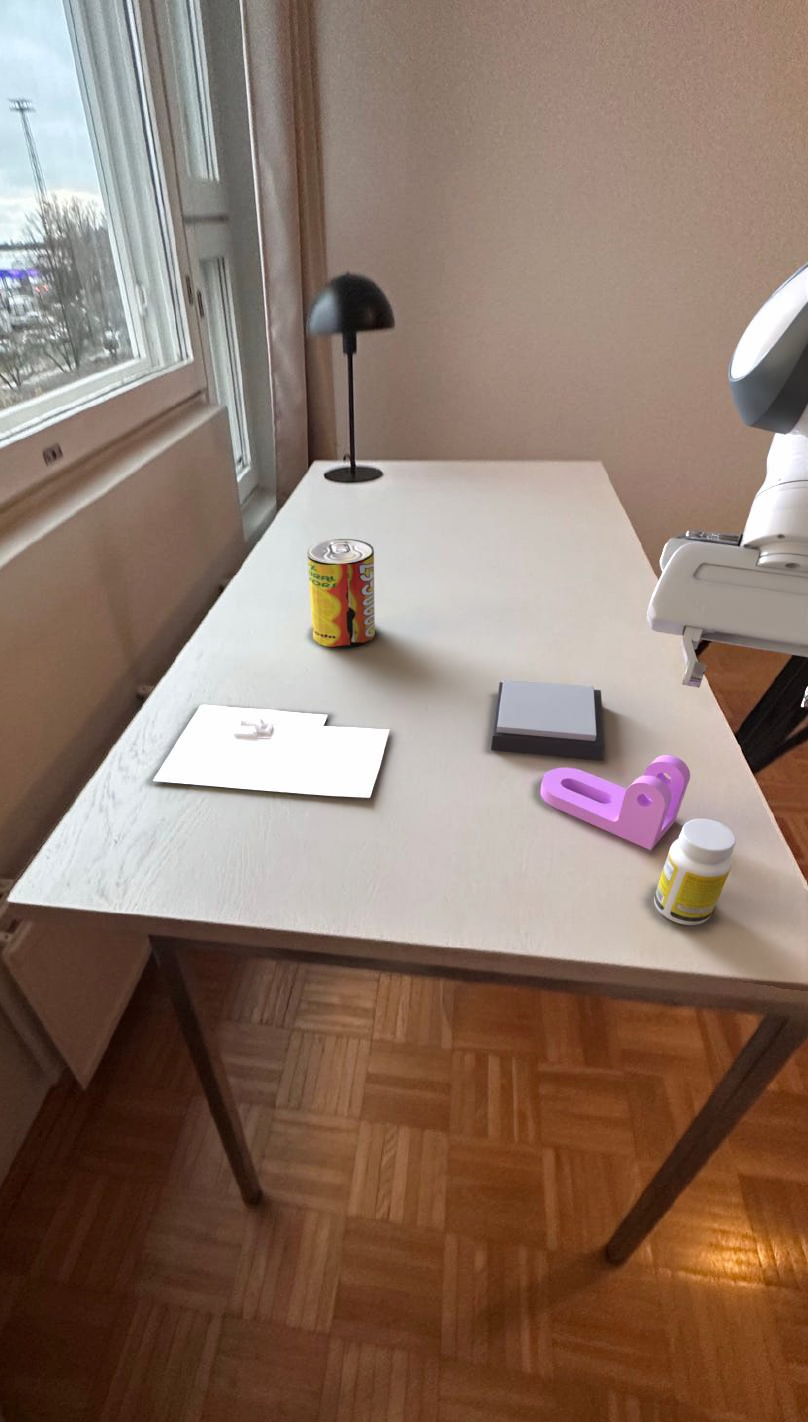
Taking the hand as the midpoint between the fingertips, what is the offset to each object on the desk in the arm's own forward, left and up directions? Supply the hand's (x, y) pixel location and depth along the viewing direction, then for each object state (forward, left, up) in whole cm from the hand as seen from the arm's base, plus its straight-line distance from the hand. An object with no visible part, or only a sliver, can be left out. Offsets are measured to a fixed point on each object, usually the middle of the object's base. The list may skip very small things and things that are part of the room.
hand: (749, 695), depth 63 cm
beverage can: (+44, -35, -15) cm, 58 cm away
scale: (+15, -15, -14) cm, 26 cm away
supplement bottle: (+3, +12, -15) cm, 19 cm away
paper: (+45, -5, -14) cm, 48 cm away
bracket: (+10, -1, -15) cm, 17 cm away
